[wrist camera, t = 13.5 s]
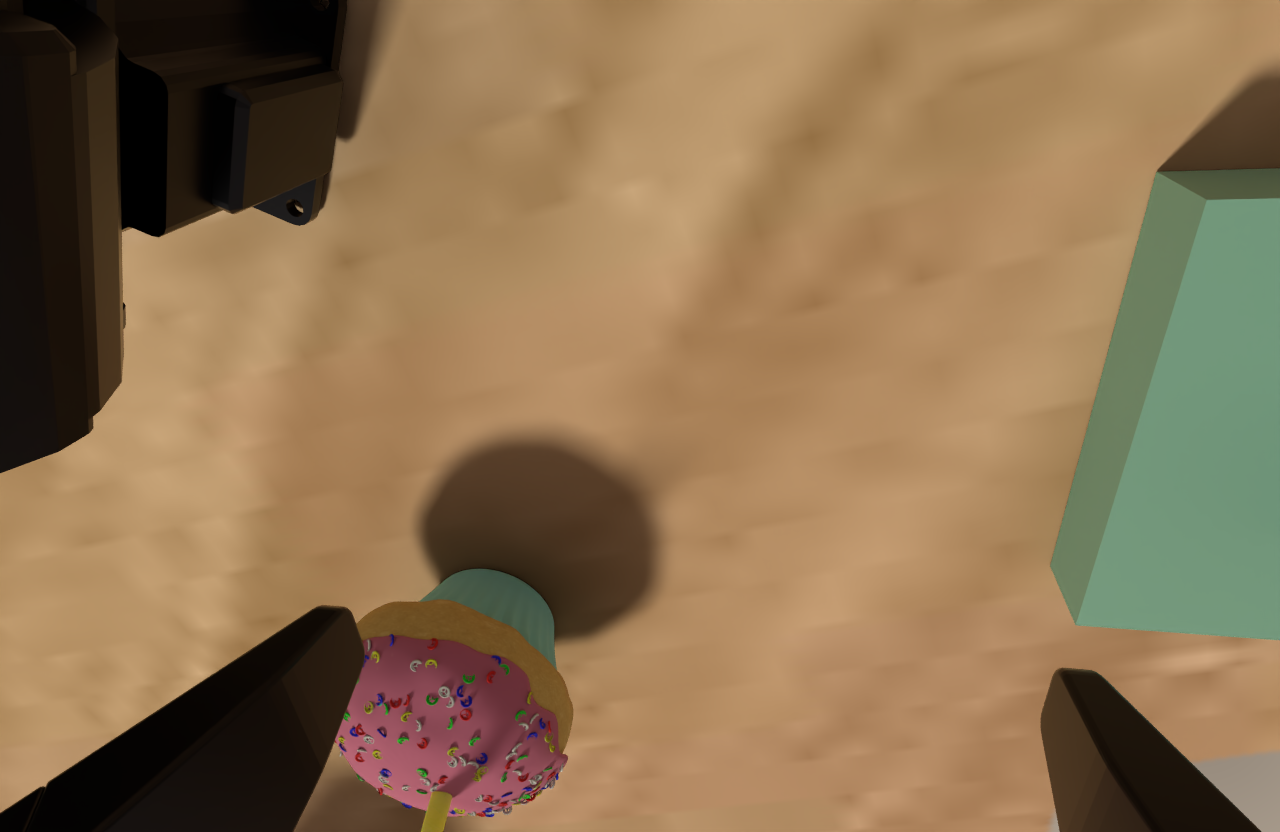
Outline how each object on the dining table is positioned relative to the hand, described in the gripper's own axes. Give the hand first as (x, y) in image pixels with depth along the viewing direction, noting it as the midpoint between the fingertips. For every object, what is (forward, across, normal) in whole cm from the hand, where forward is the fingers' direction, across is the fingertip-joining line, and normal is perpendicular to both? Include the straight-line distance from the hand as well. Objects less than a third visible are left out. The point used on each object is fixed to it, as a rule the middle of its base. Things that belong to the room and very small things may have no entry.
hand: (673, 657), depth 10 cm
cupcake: (+13, +10, +13) cm, 21 cm away
